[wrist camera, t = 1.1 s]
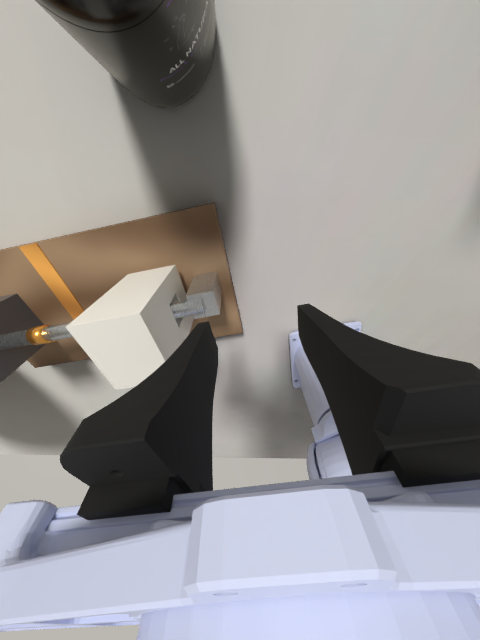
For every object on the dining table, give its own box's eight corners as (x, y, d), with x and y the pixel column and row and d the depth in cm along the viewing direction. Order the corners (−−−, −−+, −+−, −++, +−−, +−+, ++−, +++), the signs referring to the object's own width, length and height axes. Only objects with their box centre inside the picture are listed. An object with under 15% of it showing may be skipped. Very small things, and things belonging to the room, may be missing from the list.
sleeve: (194, 316, 19) (175, 380, 13) (153, 323, 19) (115, 389, 13) (175, 264, 16) (139, 313, 10) (128, 274, 17) (65, 327, 10)
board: (241, 324, 23) (242, 333, 21) (45, 358, 25) (34, 368, 23) (214, 202, 16) (212, 203, 15) (-50, 260, 18) (-73, 266, 17)
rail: (221, 291, 19) (219, 319, 15) (26, 328, 20) (-24, 362, 17) (216, 271, 18) (212, 295, 14) (10, 311, 19) (-47, 343, 15)
